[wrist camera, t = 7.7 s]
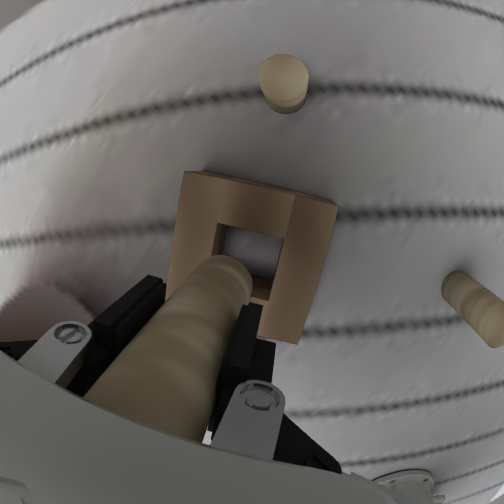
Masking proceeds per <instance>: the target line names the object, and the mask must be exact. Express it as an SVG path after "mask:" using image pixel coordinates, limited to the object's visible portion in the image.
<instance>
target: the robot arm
mask: <svg viewBox="0 0 504 504" xmlns="http://www.w3.org/2000/svg"><path fill="white" fill-rule="evenodd" d="M166 287H167V286H166V283H163V280H162V279H161V278H158V277H154V276H151V275H147V276H146V277H145V278H144V279H142V280H141V281H140V282H139V283H137V284H136V285H135V286H134V287H133V288H131V289H130V290H129V291H128V292H127V293H125V294H124V295H123V296H122V297H121V298H119V299H118V300H117V301H116V302H114V303H113V304H112V305H111V306H110V307H108V308H107V309H106V310H105V311H104V312H103V313H101V314H100V315H99V316H98V317H97V318H95V319H94V320H93V321H92V322H91V323H90V324H89V325H87V326H86V325H84V324H82V323H79V322H75V321H66V322H61V323H58V324H57V325H55V326H53V327H52V328H51V329H50V330H49V331H48V332H47V333H46V334H45V335H44V336H43V337H42V338H41V339H40V340H30V341H14V342H1V343H0V504H442V502H444V500H445V496H444V495H437V496H433V495H432V492H431V490H432V488H433V486H434V480H433V477H432V475H431V474H430V473H429V472H426V471H421V470H409V471H402V472H398V473H393V474H390V475H387V476H384V477H381V478H378V479H376V480H374V481H371V480H369V479H366V478H364V477H362V476H360V475H358V474H355V473H353V472H351V473H350V474H349V475H348V474H346V473H344V472H342V469H341V467H340V465H339V463H338V462H337V461H336V459H335V458H334V457H333V456H331V455H330V454H329V453H328V452H327V451H325V450H324V449H323V448H322V447H321V446H320V445H318V444H317V443H316V442H315V441H314V440H313V439H311V438H310V437H309V436H308V435H307V434H306V433H305V432H304V431H302V430H301V429H300V428H299V427H298V426H297V425H296V424H295V423H294V422H292V421H291V420H290V419H289V418H288V417H287V416H286V415H285V414H284V413H283V412H284V407H285V397H284V395H283V393H282V392H281V391H280V389H279V388H277V387H276V386H274V385H273V384H271V382H272V374H273V366H274V357H275V348H276V343H274V342H270V341H265V340H261V339H257V338H256V337H257V332H258V328H259V323H260V319H261V314H262V309H263V305H260V304H256V303H252V302H249V304H248V305H244V304H242V307H241V310H240V313H239V315H238V318H237V321H236V324H235V326H234V329H233V332H232V335H231V337H230V340H229V343H228V346H227V348H226V351H225V354H224V357H223V360H222V363H221V367H220V371H219V376H218V380H217V385H216V390H215V391H216V403H215V406H214V409H213V412H212V415H211V418H210V421H209V424H208V429H207V431H211V432H212V436H211V440H212V442H211V444H210V445H207V444H203V443H200V442H196V441H193V440H189V439H186V438H183V437H180V436H177V435H174V434H171V433H168V432H165V431H162V430H159V429H156V428H154V427H151V426H148V425H146V424H143V423H140V422H138V421H135V420H132V419H130V418H128V417H125V416H123V415H120V414H118V413H115V412H113V411H111V410H109V409H106V408H104V407H102V406H100V405H97V404H95V403H93V402H91V401H89V400H87V399H85V398H83V397H84V396H85V394H86V393H87V392H88V391H89V390H90V388H91V387H92V386H93V385H94V384H95V382H96V381H97V380H98V379H99V378H100V376H101V375H102V374H103V373H104V372H105V371H106V369H107V368H108V367H109V366H110V365H111V363H112V362H113V361H114V360H115V359H116V358H117V356H118V355H119V354H120V353H121V352H122V351H123V349H124V348H125V347H126V346H127V345H128V344H129V343H130V341H131V340H132V339H133V338H134V337H135V336H136V334H137V333H138V332H139V331H140V330H141V329H142V328H143V326H144V325H145V324H146V323H147V322H148V321H149V320H150V318H151V317H152V316H153V315H154V314H155V313H156V312H157V311H158V309H159V308H160V307H161V306H162V305H163V304H164V303H165V297H166Z"/></svg>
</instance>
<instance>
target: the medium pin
mask: <svg viewBox="0 0 504 504" xmlns="http://www.w3.org/2000/svg"><path fill="white" fill-rule="evenodd" d="M442 296H443V298H444V299H445V300H446V301H447V302H448V303H449V304H450V305H451V306H452V307H453V308H454V309H455V310H456V311H457V312H458V314H459V315H460V316H461V317H462V318H463V319H464V320H465V321H466V322H467V323H468V324H469V325H470V326H471V327H472V328H473V329H474V330H475V331H476V333H477V334H478V335H479V336H480V337H481V338H482V339H483V340H484V341H485V342H486V343H487V345H488V346H490V347H492V348H497V347H500V346H502V345H504V301H503V300H501V299H500V298H499V297H497V296H496V295H495V294H494V293H492V292H491V291H490V290H488V289H487V288H486V287H484V286H483V285H481V284H480V283H479V282H477V281H476V280H475V279H473V278H472V277H471V276H469V275H468V274H466V273H465V272H463V271H460V270H456V271H453V272H451V273H450V274H449V275H448V276H447V277H446V278H445V280H444V282H443V284H442Z"/></svg>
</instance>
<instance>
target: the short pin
mask: <svg viewBox="0 0 504 504" xmlns="http://www.w3.org/2000/svg"><path fill="white" fill-rule="evenodd" d="M308 80H309V75H308V70H307V68H306V66H305V65H304V63H303V62H302V61H301V60H299V59H298V58H296V57H294V56H291V55H287V54H279V55H274V56H272V57H270V58H268V59H266V60H265V61H264V62H263V63H262V65H261V66H260V68H259V71H258V82H259V85H260V87H261V89H262V91H263V94H264V96H265V98H266V101H267V103H268V105H269V106H270V107H271V108H272V109H273V110H274V111H276V112H279V113H282V114H290V113H294V112H296V111H298V110H299V109H300V108H301V107H302V106H303V105H304V103H305V100H306V94H307V87H308Z"/></svg>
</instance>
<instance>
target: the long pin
mask: <svg viewBox="0 0 504 504" xmlns="http://www.w3.org/2000/svg"><path fill="white" fill-rule="evenodd" d="M252 288H253V284H252V278H251V275H250V273H249V271H248V270H247V268H246V267H245V266H244V265H243V264H242V263H241V262H240V261H238V260H237V259H235V258H233V257H230V256H226V255H214V256H211V257H208V258H206V259H205V260H203V261H202V262H201V263H200V264H199V265H198V266H197V267H196V268H195V269H194V270H193V271H192V273H191V274H190V275H189V276H188V277H187V278H186V279H185V280H184V281H183V283H182V284H181V285H180V286H179V287H178V288H177V289H176V290H175V291H174V293H173V294H172V295H171V296H170V297H169V298H168V299H167V300H166V302H165V303H164V304H163V305H162V306H161V307H160V308H159V309H158V311H157V312H156V313H155V314H154V315H153V316H152V317H151V318H150V320H149V321H148V322H147V323H146V324H145V325H144V326H143V328H142V329H141V330H140V331H139V332H138V333H137V334H136V336H135V337H134V338H133V339H132V340H131V341H130V343H129V344H128V345H127V346H126V347H125V348H124V349H123V351H122V352H121V353H120V354H119V355H118V356H117V358H116V359H115V360H114V361H113V362H112V363H111V365H110V366H109V367H108V368H107V369H106V371H105V372H104V373H103V374H102V375H101V376H100V378H99V379H98V380H97V381H96V382H95V384H94V385H93V386H92V387H91V388H90V390H89V391H88V392H87V393H86V394H85V396H84V397H83V398H85V399H87V400H89V401H91V402H93V403H95V404H97V405H100V406H102V407H104V408H106V409H109V410H111V411H113V412H115V413H118V414H120V415H123V416H125V417H128V418H130V419H132V420H135V421H138V422H140V423H143V424H146V425H148V426H151V427H154V428H156V429H159V430H162V431H165V432H168V433H171V434H174V435H177V436H180V437H183V438H186V439H189V440H193V441H196V442H200V443H202V441H203V438H204V435H205V432H206V429H207V426H208V424H209V421H210V418H211V415H212V412H213V409H214V406H215V403H216V391H215V390H216V385H217V380H218V376H219V371H220V367H221V363H222V360H223V357H224V354H225V351H226V348H227V346H228V343H229V340H230V337H231V335H232V332H233V329H234V326H235V324H236V321H237V318H238V315H239V313H240V310H241V307H242V304H244V305H248V302H249V299H250V296H251V293H252Z"/></svg>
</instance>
